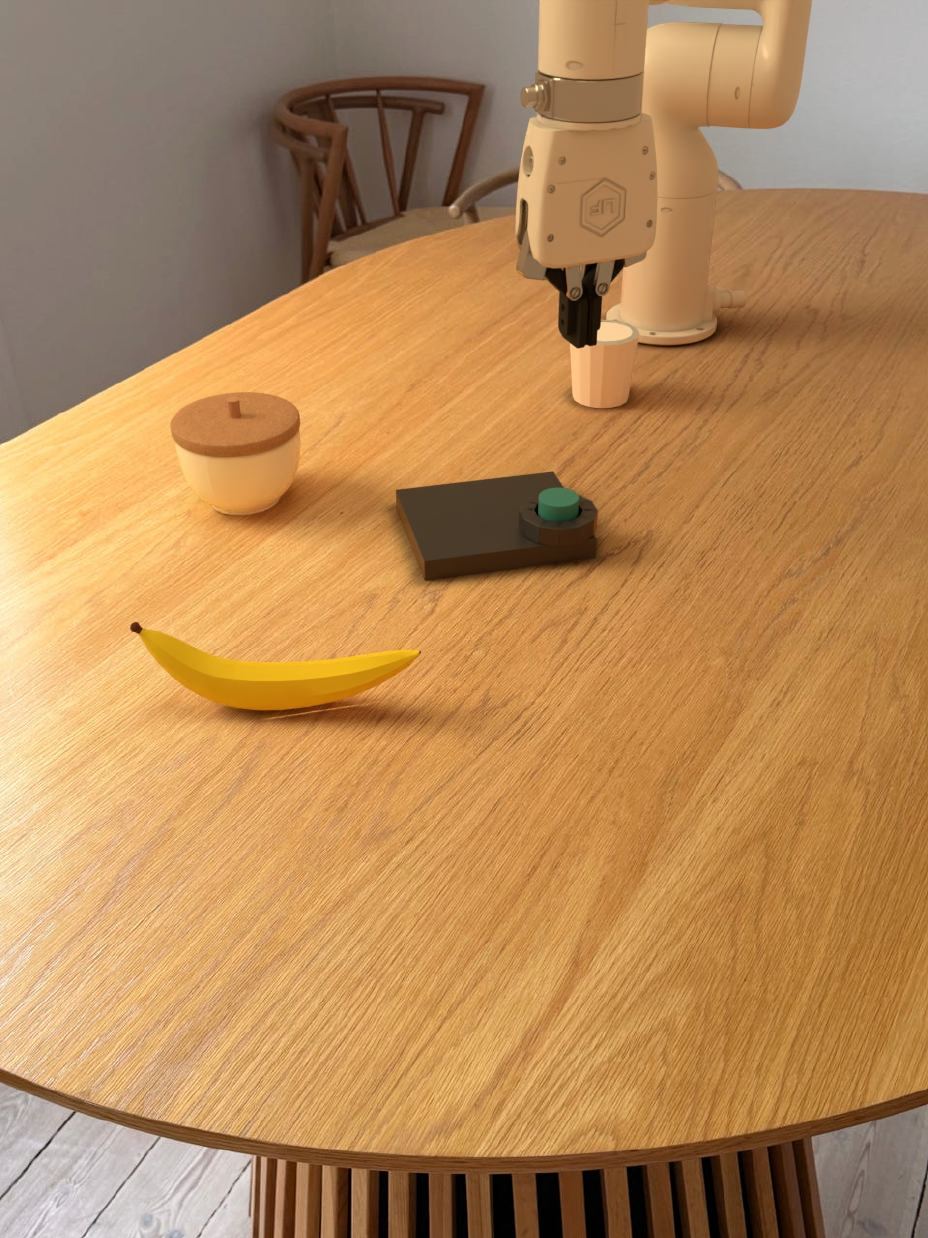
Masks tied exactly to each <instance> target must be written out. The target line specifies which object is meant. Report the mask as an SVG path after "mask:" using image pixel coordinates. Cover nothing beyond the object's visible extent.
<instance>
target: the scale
mask: <svg viewBox="0 0 928 1238" xmlns="http://www.w3.org/2000/svg"><path fill="white" fill-rule="evenodd" d="M549 488H565V487H564V485H563V484H562V483H561V481H560V480H559V478H558V477H557V475H556V473H555V471H554V470H553V471H544V472H543V471H542V472H535V473H527V474H526V473H525V474H519V475H509V476H501V477H492V478H484V479H476V480H466V481H459V482H451V483H442V484H441V483H440V484H433V485H424V486H417V487H416V486H415V487H407V488H398V489H395V503H396V504H395V505H396V511H397V514H398V516H399V519H400V521H401V524H402V526H403V528H404V531H405V534H406V536H407V539H408V541H409V544H410V547H411V550H412V551H413V554H414V557H415V559H416V562H417V564H418V567H419V569H420V572H421V574H422V577H423V579H424V581H425V582H428V581H434V580H442V579H448V578H456V577H457V578H458V577H465V576H471V575H473V576H474V575H480V574H488V573H495V572H503V571H509V570H516V569H517V570H519V569H525V568H532V567H539V566H549V565H555V564H556V565H557V564H562V563H570V562H577V561H585V560H593V559H596V557H597V545H598V543H597V542H598V538H597V536H596V535H595V533H596V531H597V528H598V517H599V510H598V508H597V507H596V505H595V504H594V502H593V501H592V500H591V499H588V498H586V497H583V496H581V495H579V494H578V496H579V511H578V517H577V518H575V519H573V520H571V521H565V522H555V521H548V520H545V519H543V518H541V517H540V516H539V514H538V506H539V494H540V493H541V492H542V491H544V490H546V489H549Z"/></svg>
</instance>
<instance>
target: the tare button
mask: <svg viewBox="0 0 928 1238" xmlns="http://www.w3.org/2000/svg"><path fill="white" fill-rule="evenodd" d="M578 495H579V494H578V493H577V492H576V491H574V490H573V489H570V488H566V487H564V488H549V489H546V490H544V491H542V492H541V493H540V494H539V506H538V514H539V516H540V517H541V518H543V519H545V520H548V521H555V522H565V521H571V520H573V519H575V518H577V517H578V511H579V496H580V495H579V496H578Z"/></svg>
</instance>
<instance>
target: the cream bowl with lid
mask: <svg viewBox="0 0 928 1238" xmlns="http://www.w3.org/2000/svg"><path fill="white" fill-rule="evenodd" d="M300 428H301V416H300V411H299V409H298V408H297V407H296V406H295V405H294V404H293V403H292V402H291V401H289V400H288V399H285V398H284V397H281V396H277V395H273V394H269V393H263V392H253V391H252V392H251V391H242V392H241V391H240V392H239V391H238V392H237V391H236V392H228V393H220V394H214V395H211V396H206V397H203V398H200V399H197V400H194V401H192V402H190V403H188V404H186V405H185V406H183V407H182V408H180V409H179V410H178V411H177V412H176V413H174V415H173V417H172V418H171V421H170V433H171V438H172V439H173V442H174V449H175V453H176V458H177V461H178V464H179V467H180V470H181V472H182V475H183V477H184V479H185V482H186V483H187V485H188V486H189V488H190V489H191V490H192V491H193V492H194V494H195V495H197V497H199V498H200V499H201V500H203V501H204V502H205V503H207V504H208V505H210V507H211V508H212V509H213V510H214V511H216V512H218V513H220V514H223V515H231V516H249V515H255V514H259V513H262V512H266V511H267V510H269V509H271V508H273V507H274V506H276V505H277V504H278V503H279V501H280V499H281V497H283V496H284V495H285V494H286V492H287V491H288V490H289V488H291V485H292V484H293V482H294V480H295V478H296V475H297V473H298V470H299V464H300V457H301V432H300Z"/></svg>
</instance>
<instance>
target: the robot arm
mask: <svg viewBox="0 0 928 1238" xmlns="http://www.w3.org/2000/svg"><path fill="white" fill-rule="evenodd" d="M538 3H539V4H538V5H539V7H538V8H539V9H538V10H539V11H538V13H539V14H538V48H537V49H538V50H537V53H538V54H537V59H538V60H537V72H535V74H534V83H533V84H531V85H530V86H523V87H522V88H521V90H520V96H519V97H520V102H521V105H522V107H523V108H532V109H534V112H536V116H533V117H530V118H529V119H528V120H529V121H528V124H527V128H526V133H525V137H524V141H523V146H522V152H521V158H520V164H519V172H518V180H517V191H516V204H515V205H516V206H515V242H516V245H517V246H516V247H517V248H518V249H519V252H518V258H517V262H516V267H515V269H516V273H518V275H520V276H521V277H523V278H524V279H527V280H536V281H547V282H549V284H550V285H552V287H553V288H554V289H555V290H556V291H558V293H559V294H558V315H557V316H558V317H557V318H558V320H557V321H558V322H557V328H558V332H559V333H560V334H561V337H562V338H563V339H564V340H565V341H567V342H568V343H569V344H570V343H571V344H572V345H573V346H574V347H576V348H577V349H578V348H583V347H584V346H585V345H588V346H595V345H596V344H597V331H598V330H599V329H600V326H601V320H602V308H603V307H602V306H603V297H604V296H606V295H607V294H608V293H609V291H610V288H611V283H612V282H613V281H614V280H615V279H616V277H617V276H618V275H619V274H620V272H621V271H622V279H621V293H620V303H617V304H615V305H613V306H612V307H611V308H609V309H608V310H607V312H606V314H605V320H614V321H620V322H624V323H627V324H630V325H632V326H634V327H635V328H637V330H638V331H639V339H638V344H644V345H645V344H646V345H653V346H654V345H655V346H680V345H688V344H693V343H698V342H700V341H703V340H705V339H708V338H710V337H711V336H712V335H713V334H714V333H716V329H717V327H718V318H717V315H716V314H715V313H719V312H720V310H721V309H730V310H731V309H740V308H745V307H746V304H747V294H746V291H745V290H743V289H742V290H731V291H729V290H727V288H726V286H715V287H711V286H710V285H708V281H709V272H710V264H711V263H710V262H711V253H712V244H713V234H714V226H715V217H716V209H717V208H716V206H717V197H718V189H719V180H720V179H719V178H720V172H719V171H720V170H719V164H718V160H717V157H716V154H715V152H714V150H713V148H712V146H711V145H710V143H709V141H708V140H707V138H706V137H705V135H704V134H703V132H702V130H701V127H703V128H710V127H716V128H717V127H718V128H720V127H721V128H732V129H733V128H734V129H735V128H737V129H748V130H749V129H751V130H752V129H753V130H754V129H755V130H771V129H776V128H779V127H782V126H783V125H785V124H786V123H788V121H789V120H790V119H791V118H792V116H793V114H794V113H795V110H796V107H797V103H798V100H799V96H800V91H801V87H802V86H801V85H802V80H803V72H804V67H805V58H806V50H807V42H808V37H809V36H808V34H809V28H810V20H811V12H812V6H813V0H539V2H538ZM663 4H668V5H672V6H679V7H686V8H700V9H701V8H703V9H704V8H705V9H722V10H723V9H724V10H747V11H754V12H756V13H758V15H759V16H760V18H761V20H762V25H754V24H732V23H731V24H730V23H722V22H721V23H720V22H697V21H671V22H664V23H658V24H655V25H653V26H650V27H648V21H649V6H660V5H663Z"/></svg>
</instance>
